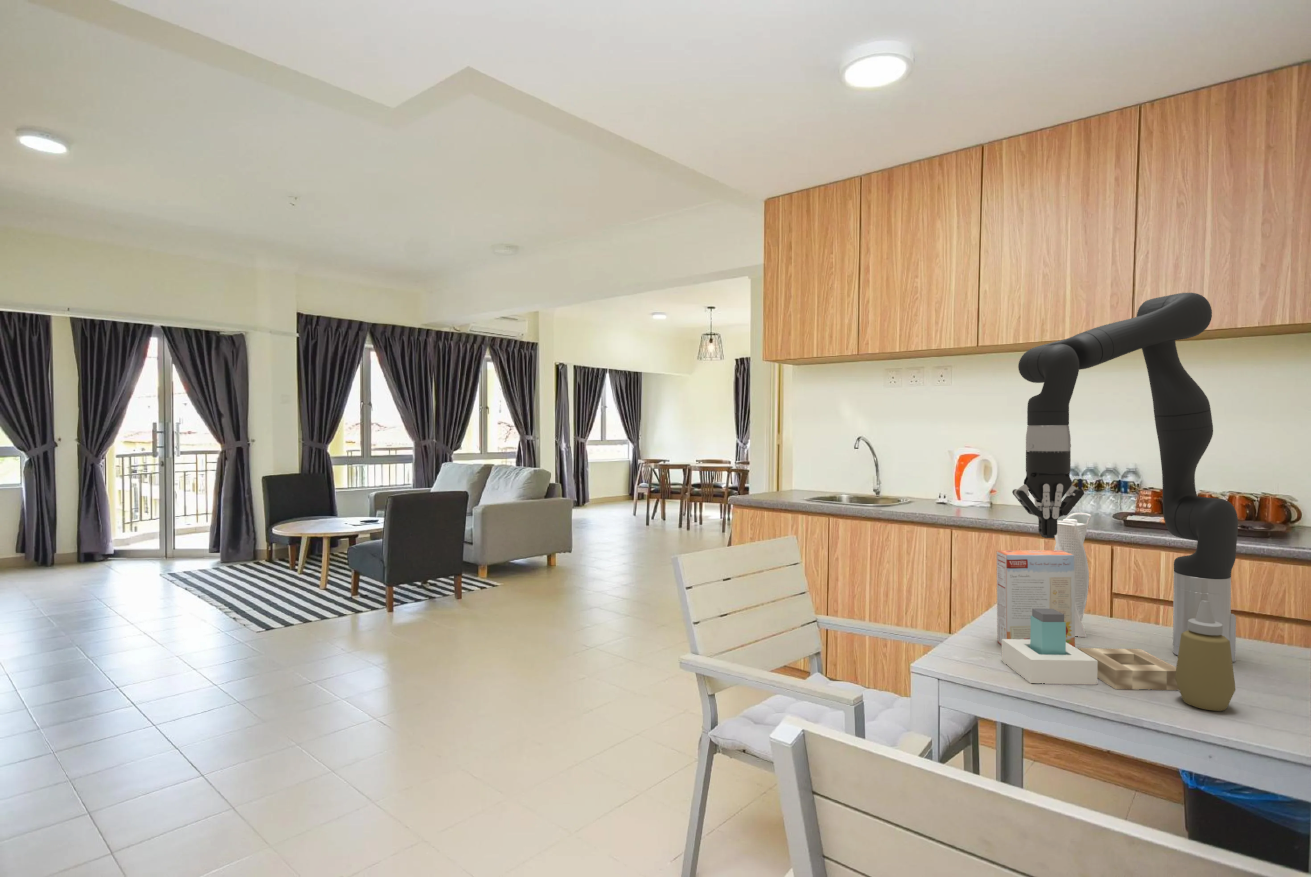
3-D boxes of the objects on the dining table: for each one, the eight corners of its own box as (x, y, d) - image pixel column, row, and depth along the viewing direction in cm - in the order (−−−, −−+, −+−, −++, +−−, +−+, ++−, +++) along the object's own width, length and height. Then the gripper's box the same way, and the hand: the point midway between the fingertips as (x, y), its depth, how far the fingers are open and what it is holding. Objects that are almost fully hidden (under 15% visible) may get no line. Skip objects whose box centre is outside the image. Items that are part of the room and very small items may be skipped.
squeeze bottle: (1162, 696, 119) (1163, 595, 118) (1204, 694, 119) (1205, 594, 119) (1203, 716, 111) (1204, 608, 110) (1248, 713, 111) (1249, 606, 111)
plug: (1053, 668, 132) (1053, 608, 132) (1065, 676, 128) (1065, 614, 128) (1030, 668, 133) (1030, 608, 132) (1041, 676, 128) (1042, 614, 128)
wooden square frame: (1139, 666, 133) (1140, 648, 133) (1183, 690, 121) (1183, 671, 121) (1077, 665, 134) (1077, 648, 134) (1115, 689, 122) (1115, 670, 122)
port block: (1061, 661, 136) (1062, 638, 136) (1097, 684, 124) (1097, 659, 124) (1001, 660, 137) (1001, 637, 137) (1030, 683, 125) (1031, 658, 125)
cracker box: (1061, 643, 147) (1062, 549, 147) (1075, 652, 141) (1076, 554, 141) (995, 641, 149) (995, 548, 148) (1006, 650, 143) (1007, 553, 142)
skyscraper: (1083, 629, 157) (1084, 511, 156) (1096, 639, 150) (1097, 515, 149) (1046, 627, 159) (1046, 510, 158) (1057, 637, 152) (1058, 514, 151)
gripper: (1072, 447, 133) (1071, 534, 133) (1003, 448, 134) (1003, 534, 134) (1094, 449, 125) (1094, 540, 126) (1022, 449, 126) (1022, 541, 126)
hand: (1047, 537), depth 130 cm, fingers closed
